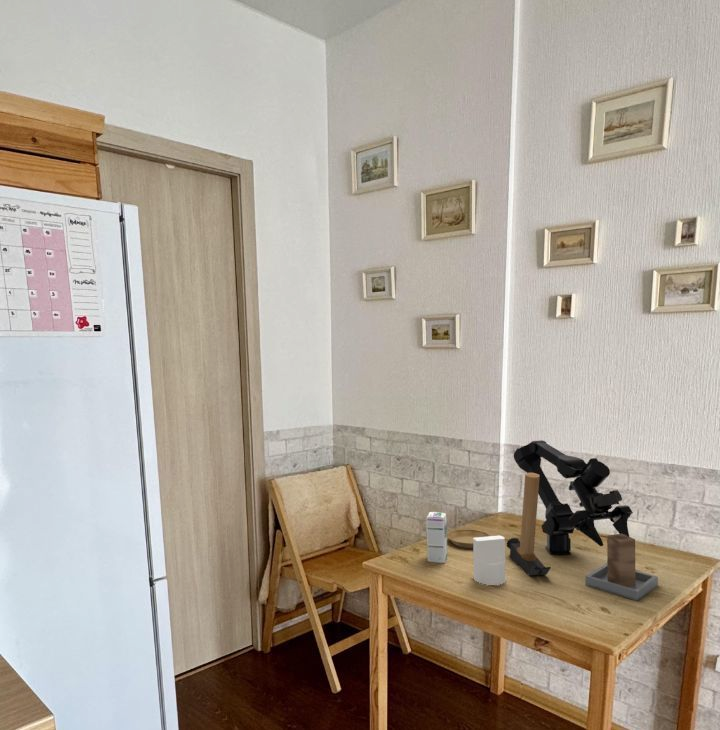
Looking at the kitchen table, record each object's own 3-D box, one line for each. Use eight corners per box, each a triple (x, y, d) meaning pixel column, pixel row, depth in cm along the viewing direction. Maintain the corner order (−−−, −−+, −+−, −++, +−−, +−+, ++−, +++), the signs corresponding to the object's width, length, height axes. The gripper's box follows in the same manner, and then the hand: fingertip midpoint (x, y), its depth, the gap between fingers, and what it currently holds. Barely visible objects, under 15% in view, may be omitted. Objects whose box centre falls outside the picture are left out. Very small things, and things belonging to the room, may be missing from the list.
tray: (637, 601, 142) (637, 591, 142) (585, 585, 153) (585, 576, 153) (657, 585, 152) (657, 576, 151) (607, 571, 162) (607, 562, 162)
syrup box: (445, 563, 170) (444, 517, 170) (426, 561, 172) (426, 516, 171) (447, 556, 176) (447, 512, 175) (429, 555, 177) (428, 511, 177)
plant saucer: (450, 551, 181) (450, 543, 181) (444, 536, 196) (444, 529, 196) (495, 550, 181) (495, 542, 181) (485, 536, 196) (485, 528, 196)
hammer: (549, 585, 158) (557, 489, 152) (532, 586, 157) (540, 490, 151) (520, 549, 177) (526, 462, 171) (505, 550, 177) (511, 463, 171)
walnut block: (607, 581, 154) (607, 535, 154) (622, 578, 155) (621, 533, 155) (620, 588, 149) (620, 541, 149) (635, 585, 150) (635, 539, 150)
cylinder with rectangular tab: (481, 587, 152) (480, 544, 152) (468, 574, 161) (468, 534, 161) (511, 584, 154) (510, 542, 154) (497, 571, 163) (496, 532, 163)
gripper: (575, 483, 156) (602, 533, 146) (627, 478, 161) (658, 526, 151) (557, 503, 164) (582, 552, 153) (608, 498, 169) (636, 545, 159)
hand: (615, 543), depth 154 cm, fingers open, 9 cm apart
